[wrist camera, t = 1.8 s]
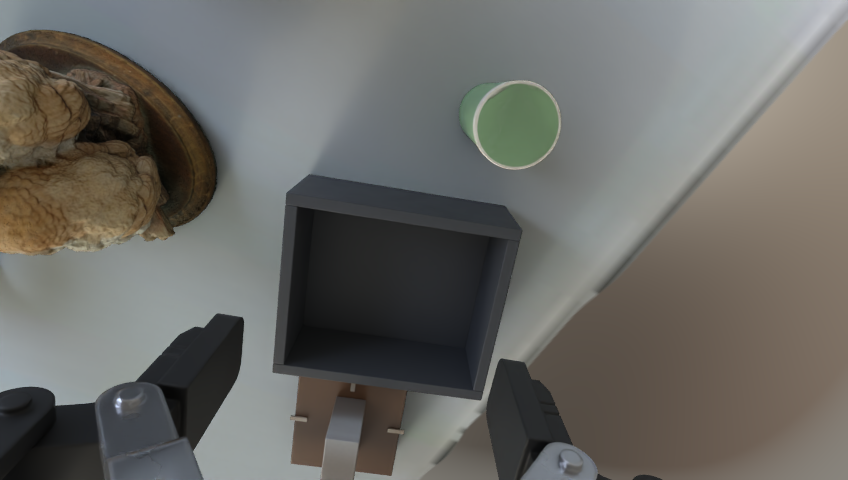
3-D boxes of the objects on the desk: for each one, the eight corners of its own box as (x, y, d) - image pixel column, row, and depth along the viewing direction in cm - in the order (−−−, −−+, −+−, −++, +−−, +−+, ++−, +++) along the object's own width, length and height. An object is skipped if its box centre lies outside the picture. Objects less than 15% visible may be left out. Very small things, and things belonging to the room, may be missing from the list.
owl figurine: (-42, 121, 35) (-442, 152, 19) (22, -21, 32) (-384, -130, 16) (176, 259, 38) (0, 385, 22) (251, 142, 36) (112, 190, 19)
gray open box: (308, 174, 36) (286, 192, 30) (505, 205, 37) (522, 230, 31) (294, 328, 41) (272, 372, 34) (471, 353, 42) (481, 401, 35)
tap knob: (336, 395, 39) (324, 441, 34) (366, 399, 39) (358, 445, 34) (329, 448, 41) (317, 499, 36) (358, 452, 41) (350, 502, 36)
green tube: (463, 76, 34) (484, 72, 24) (525, 87, 35) (571, 88, 24) (452, 139, 36) (466, 162, 25) (511, 149, 36) (549, 176, 26)
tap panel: (303, 347, 41) (295, 367, 38) (413, 362, 42) (412, 383, 39) (294, 439, 44) (285, 464, 41) (396, 451, 45) (395, 478, 42)
